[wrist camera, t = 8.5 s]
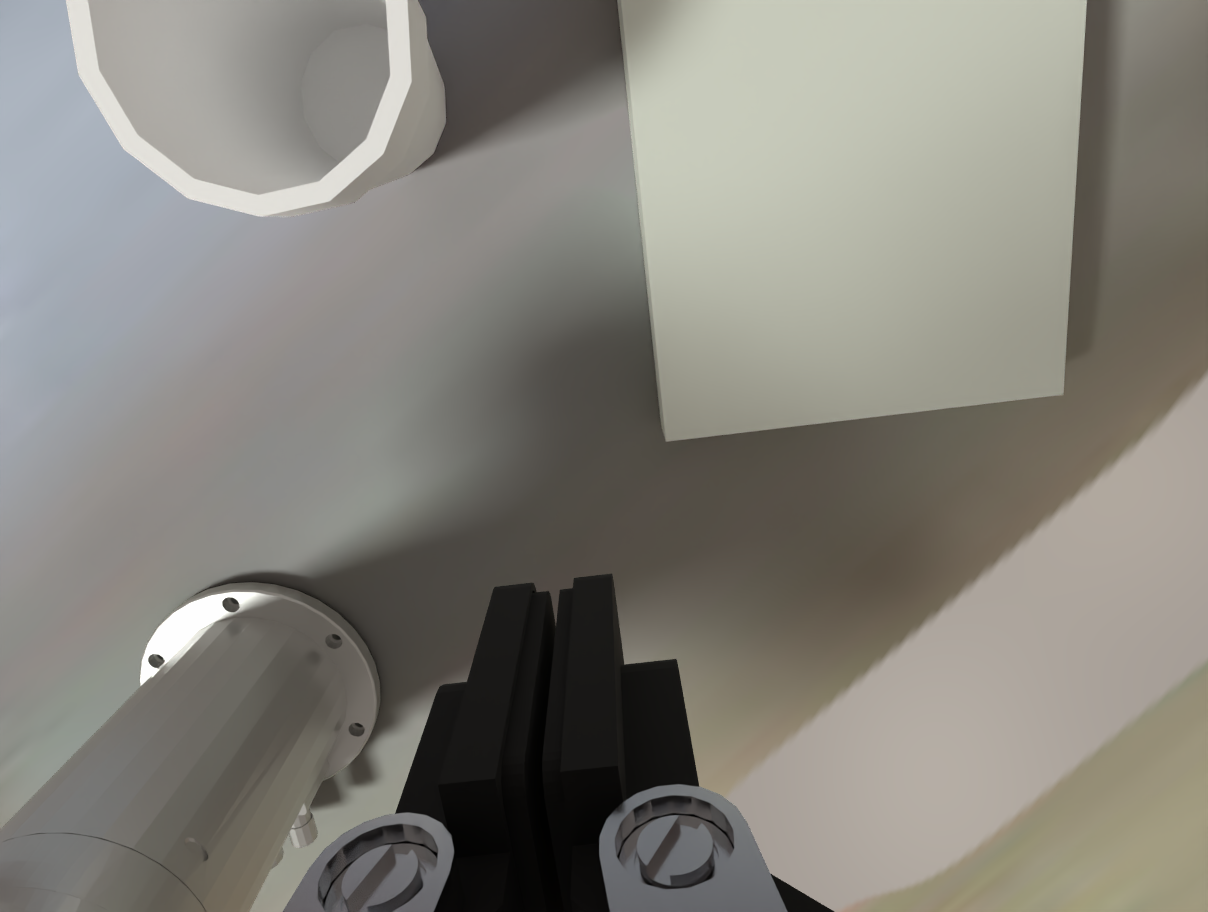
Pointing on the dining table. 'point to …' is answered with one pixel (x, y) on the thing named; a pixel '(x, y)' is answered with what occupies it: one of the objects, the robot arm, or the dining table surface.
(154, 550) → the dining table surface
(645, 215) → the hole board
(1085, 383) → the dining table surface
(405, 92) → the foam cup
